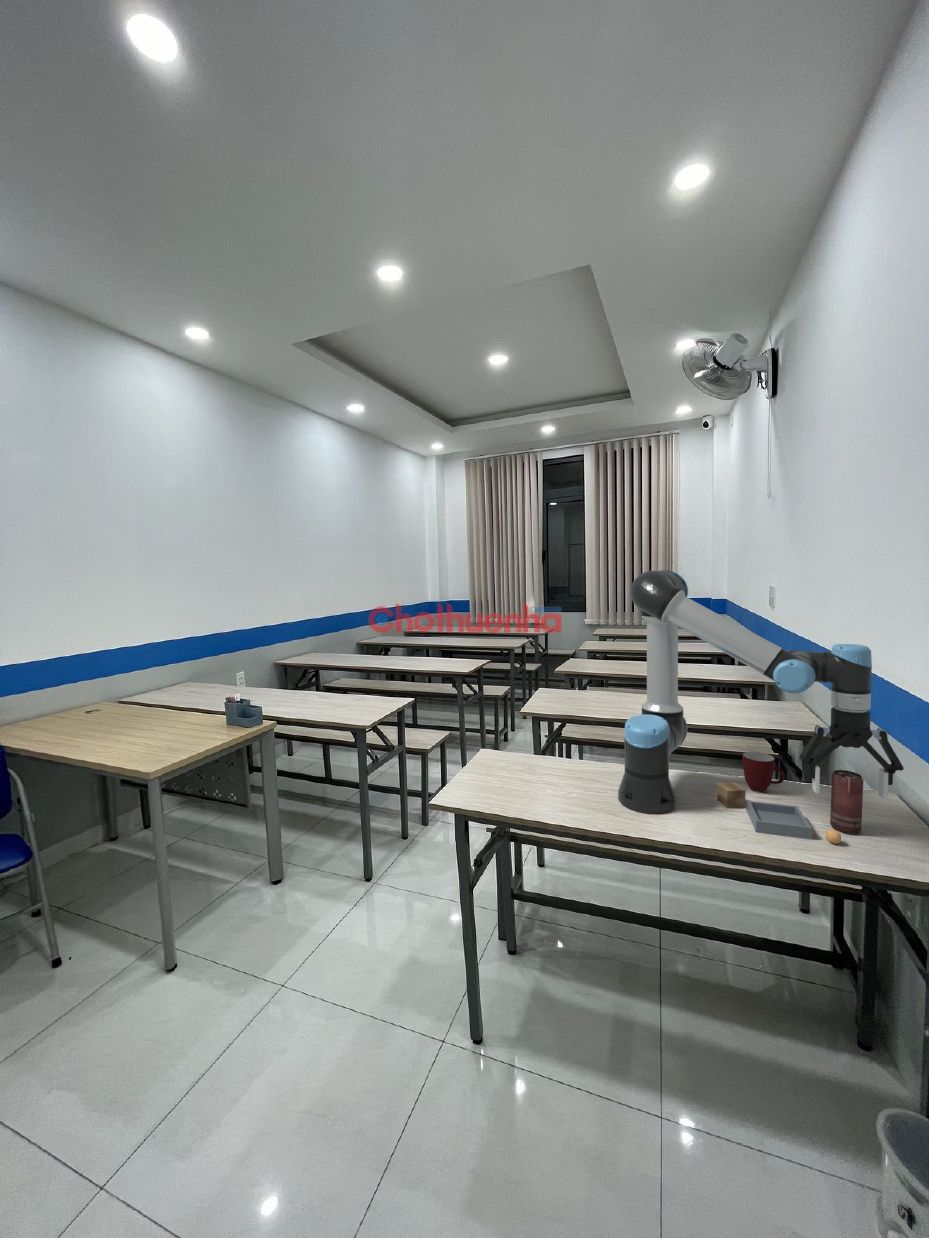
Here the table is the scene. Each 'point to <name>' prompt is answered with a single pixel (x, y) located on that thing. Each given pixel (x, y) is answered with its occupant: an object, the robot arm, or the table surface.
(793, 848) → the table surface
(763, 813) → the tray
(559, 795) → the table surface
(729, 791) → the walnut block
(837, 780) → the can
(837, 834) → the rubber ball
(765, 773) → the mug
